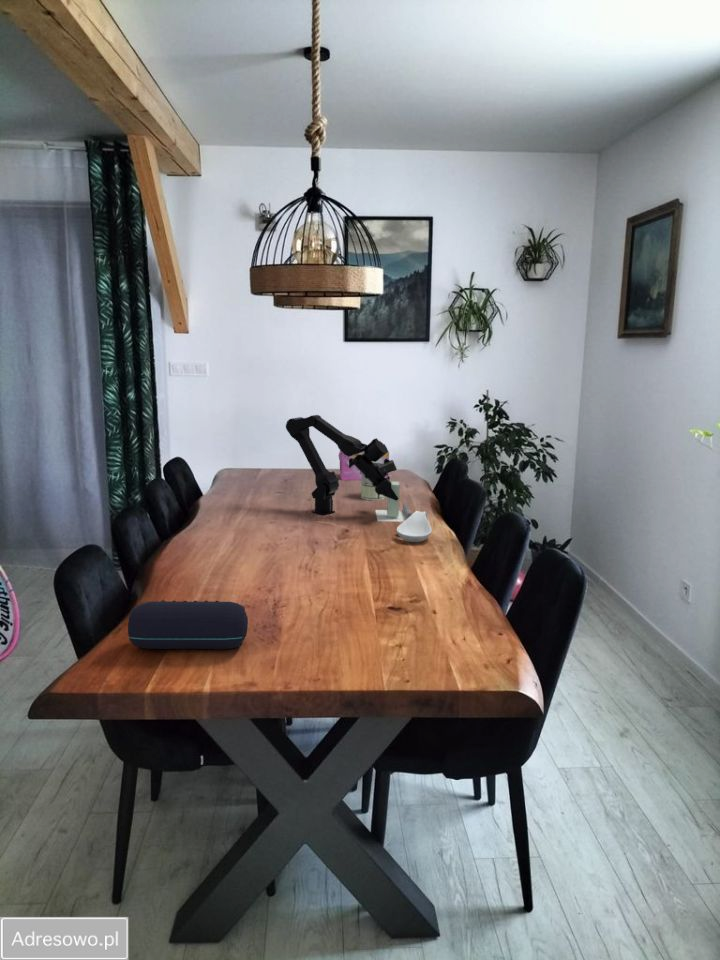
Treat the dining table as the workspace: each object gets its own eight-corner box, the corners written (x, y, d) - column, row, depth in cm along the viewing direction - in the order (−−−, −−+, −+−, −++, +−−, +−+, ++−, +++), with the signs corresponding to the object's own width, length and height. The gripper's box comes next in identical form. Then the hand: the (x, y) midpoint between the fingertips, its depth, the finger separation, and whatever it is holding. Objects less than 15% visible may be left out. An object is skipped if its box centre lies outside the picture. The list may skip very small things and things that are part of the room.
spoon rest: (428, 547, 217) (429, 526, 215) (393, 543, 219) (393, 522, 218) (437, 527, 239) (438, 508, 238) (405, 524, 242) (406, 505, 240)
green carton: (399, 516, 245) (400, 484, 243) (387, 516, 245) (388, 484, 243) (397, 512, 251) (399, 481, 248) (386, 512, 251) (387, 481, 248)
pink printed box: (338, 480, 314) (338, 451, 311) (337, 476, 321) (337, 449, 318) (388, 480, 316) (389, 451, 314) (385, 476, 324) (386, 449, 321)
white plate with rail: (411, 523, 243) (411, 513, 242) (377, 523, 242) (377, 513, 241) (406, 512, 258) (407, 502, 257) (375, 511, 258) (375, 502, 257)
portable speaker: (251, 636, 150) (250, 594, 148) (245, 657, 140) (244, 612, 138) (138, 636, 149) (136, 594, 147) (125, 657, 139) (122, 612, 137)
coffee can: (361, 494, 286) (362, 462, 283) (385, 495, 285) (386, 463, 282) (359, 500, 276) (360, 466, 273) (384, 501, 275) (385, 467, 272)
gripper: (385, 457, 234) (415, 488, 236) (382, 448, 252) (410, 477, 255) (362, 479, 235) (392, 509, 238) (361, 468, 253) (389, 497, 256)
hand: (396, 497), depth 247 cm, fingers closed on green carton, 5 cm apart
